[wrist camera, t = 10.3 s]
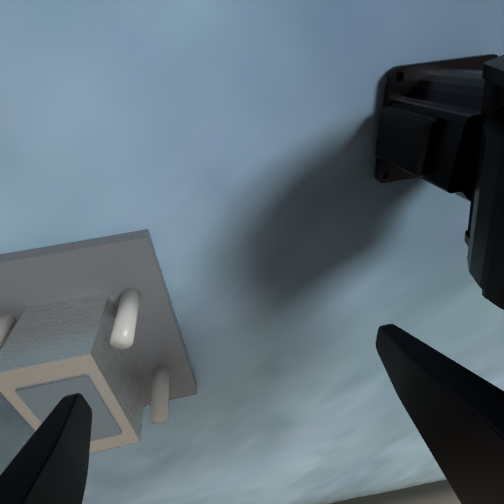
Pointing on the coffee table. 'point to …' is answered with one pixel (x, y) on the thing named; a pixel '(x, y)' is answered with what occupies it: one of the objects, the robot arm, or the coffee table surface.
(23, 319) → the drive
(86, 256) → the pegged base plate
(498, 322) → the coffee table surface
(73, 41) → the coffee table surface
